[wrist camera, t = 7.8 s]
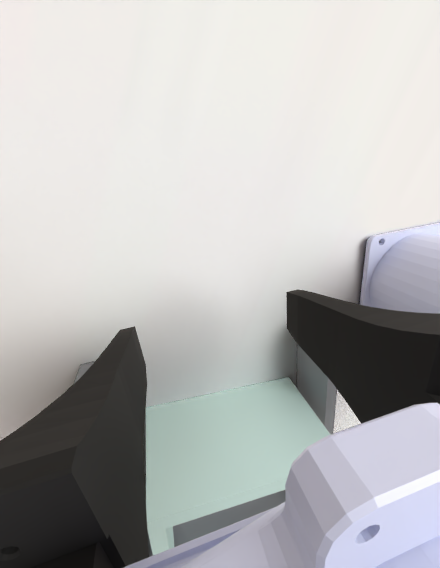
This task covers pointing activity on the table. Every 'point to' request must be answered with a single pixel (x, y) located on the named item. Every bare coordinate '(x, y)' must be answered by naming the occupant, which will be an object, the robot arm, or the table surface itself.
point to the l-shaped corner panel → (222, 452)
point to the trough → (323, 404)
